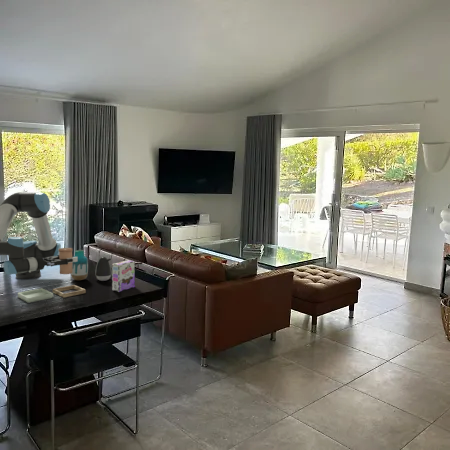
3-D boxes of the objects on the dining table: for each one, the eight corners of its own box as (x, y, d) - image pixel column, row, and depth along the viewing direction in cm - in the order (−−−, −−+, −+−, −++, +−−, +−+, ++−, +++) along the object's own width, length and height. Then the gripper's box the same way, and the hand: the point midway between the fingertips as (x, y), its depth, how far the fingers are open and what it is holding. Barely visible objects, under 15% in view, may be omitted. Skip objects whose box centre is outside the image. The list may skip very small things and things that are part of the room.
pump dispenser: (107, 282, 287) (107, 259, 284) (92, 281, 289) (92, 257, 287) (114, 278, 297) (114, 255, 294) (100, 277, 299) (99, 254, 296)
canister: (56, 272, 260) (56, 248, 258) (69, 270, 266) (68, 247, 264) (63, 275, 255) (62, 250, 253) (75, 272, 261) (75, 249, 259)
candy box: (118, 292, 266) (118, 265, 264) (111, 290, 269) (111, 263, 267) (135, 287, 278) (135, 260, 275) (128, 285, 281) (128, 259, 278)
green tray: (17, 297, 253) (17, 292, 252) (42, 292, 263) (42, 288, 262) (28, 302, 243) (28, 298, 243) (53, 297, 253) (53, 293, 253)
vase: (77, 283, 283) (77, 253, 281) (67, 279, 289) (67, 250, 287) (91, 279, 292) (91, 250, 289) (80, 276, 298) (81, 248, 295)
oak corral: (52, 292, 263) (52, 289, 262) (74, 288, 272) (74, 284, 272) (63, 297, 253) (63, 294, 253) (85, 292, 263) (85, 289, 263)
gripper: (27, 267, 254) (65, 261, 270) (43, 273, 240) (82, 267, 257) (26, 254, 253) (65, 249, 269) (42, 260, 239) (82, 254, 256)
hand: (73, 258), depth 263 cm, fingers closed on canister, 7 cm apart
